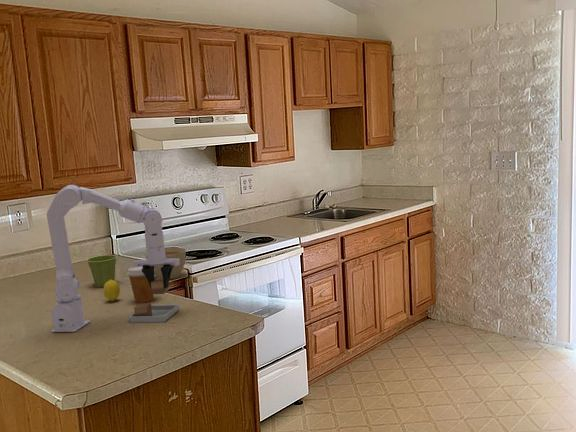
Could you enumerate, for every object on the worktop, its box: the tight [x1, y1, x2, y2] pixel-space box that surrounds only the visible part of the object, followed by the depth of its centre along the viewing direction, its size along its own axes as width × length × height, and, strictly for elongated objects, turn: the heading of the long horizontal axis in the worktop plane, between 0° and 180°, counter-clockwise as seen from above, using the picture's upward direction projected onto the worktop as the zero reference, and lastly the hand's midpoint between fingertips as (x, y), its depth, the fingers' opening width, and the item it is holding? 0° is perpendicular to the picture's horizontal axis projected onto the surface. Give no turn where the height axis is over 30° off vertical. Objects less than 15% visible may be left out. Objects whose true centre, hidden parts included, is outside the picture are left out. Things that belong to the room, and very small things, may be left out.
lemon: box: [103, 280, 121, 302], centre depth 205 cm, size 6×6×8 cm
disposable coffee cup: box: [126, 265, 155, 304], centre depth 202 cm, size 10×10×12 cm
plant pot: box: [85, 254, 118, 288], centre depth 230 cm, size 12×12×11 cm
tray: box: [127, 304, 180, 324], centre depth 184 cm, size 12×12×2 cm
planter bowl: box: [145, 247, 187, 281], centre depth 235 cm, size 16×16×11 cm
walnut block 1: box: [133, 302, 152, 316], centre depth 181 cm, size 4×4×4 cm
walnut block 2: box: [151, 278, 169, 295], centre depth 185 cm, size 4×4×4 cm
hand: (159, 287), depth 185 cm, fingers closed on walnut block 2, 4 cm apart
